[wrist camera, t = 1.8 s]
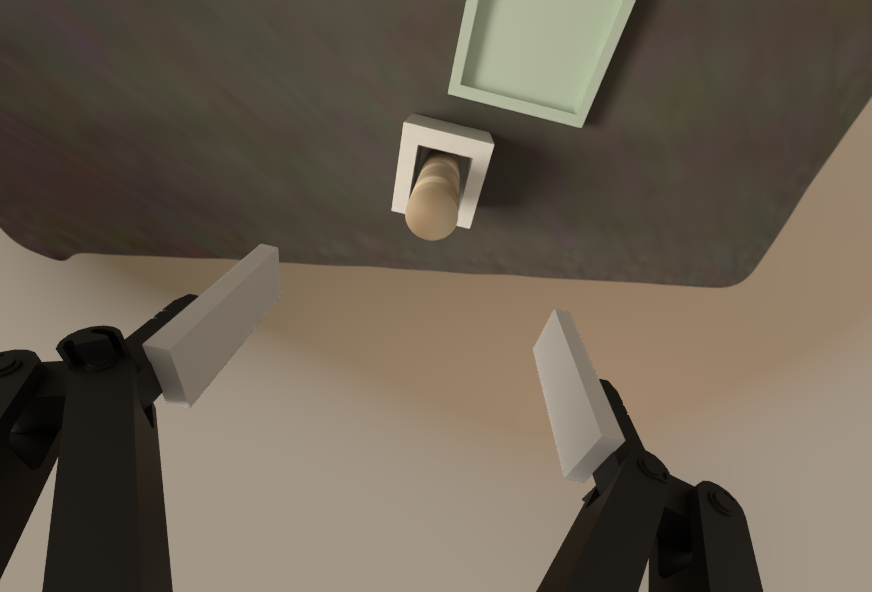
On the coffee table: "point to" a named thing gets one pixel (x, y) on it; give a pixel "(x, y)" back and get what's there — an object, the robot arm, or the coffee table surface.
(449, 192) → the dowel
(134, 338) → the robot arm
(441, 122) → the hollow block
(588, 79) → the tray
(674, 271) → the coffee table surface
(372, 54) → the coffee table surface
